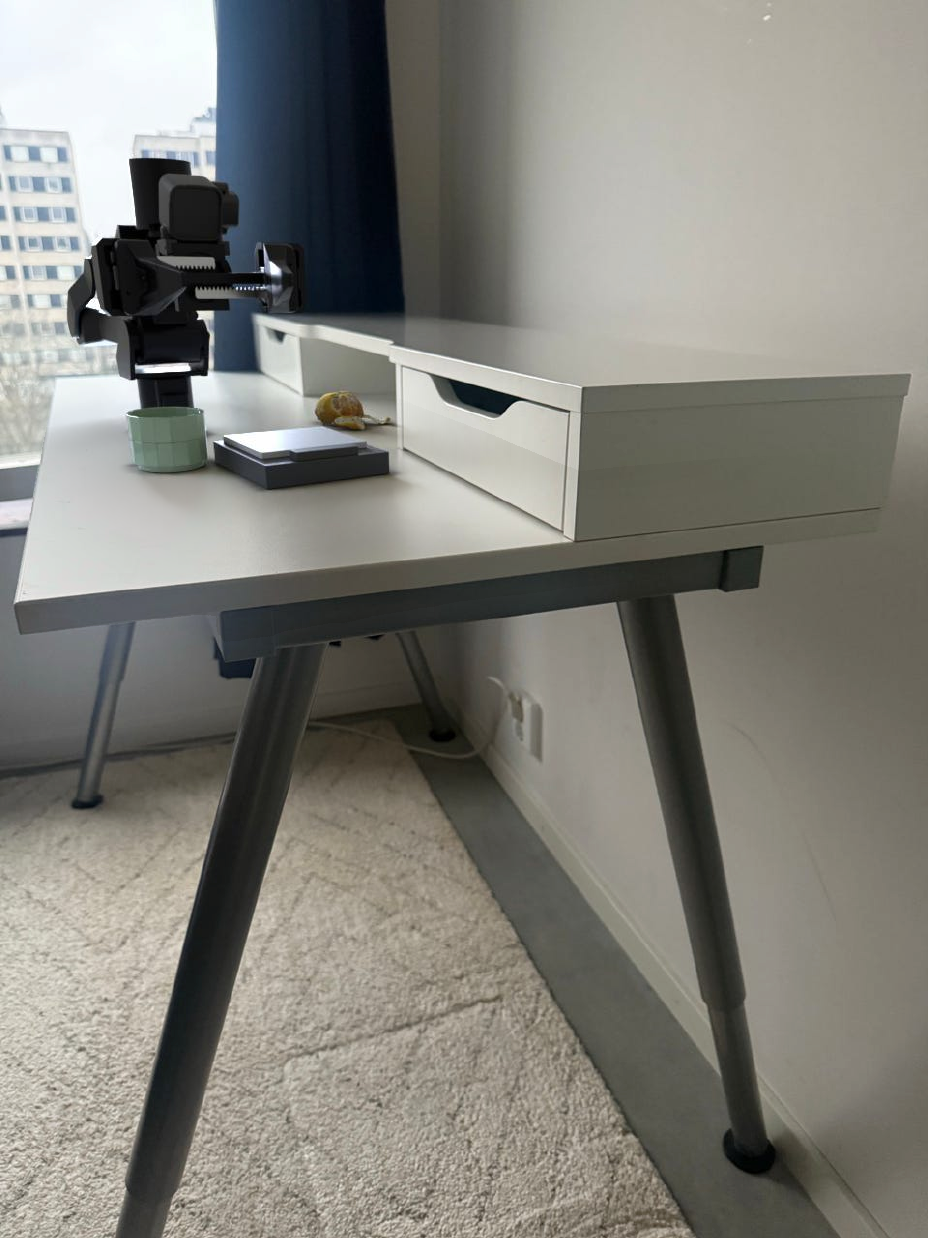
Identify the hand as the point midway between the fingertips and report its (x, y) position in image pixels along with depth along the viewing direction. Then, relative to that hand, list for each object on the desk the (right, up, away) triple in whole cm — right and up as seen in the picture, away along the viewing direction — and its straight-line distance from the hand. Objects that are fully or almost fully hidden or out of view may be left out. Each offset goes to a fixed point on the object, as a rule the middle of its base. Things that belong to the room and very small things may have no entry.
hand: (239, 279), depth 71 cm
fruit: (+5, -5, +32) cm, 33 cm away
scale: (+3, -14, +10) cm, 17 cm away
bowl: (-9, -14, +10) cm, 19 cm away
